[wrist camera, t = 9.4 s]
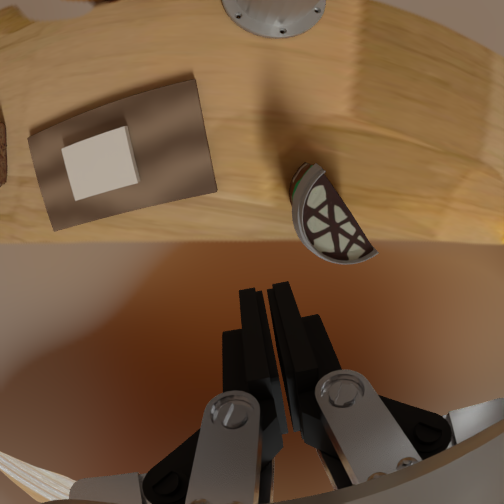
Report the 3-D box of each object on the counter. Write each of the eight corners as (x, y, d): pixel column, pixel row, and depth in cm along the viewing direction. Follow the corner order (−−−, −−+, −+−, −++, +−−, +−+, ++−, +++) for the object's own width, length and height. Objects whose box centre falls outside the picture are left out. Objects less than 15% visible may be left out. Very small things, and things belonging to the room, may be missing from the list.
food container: (259, 183, 38) (270, 206, 29) (298, 152, 36) (321, 166, 27) (314, 251, 42) (337, 289, 33) (349, 224, 41) (380, 256, 32)
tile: (128, 125, 32) (67, 147, 32) (124, 126, 30) (61, 148, 30) (141, 180, 35) (80, 197, 35) (137, 183, 34) (75, 201, 34)
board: (32, 137, 32) (27, 138, 30) (195, 80, 32) (194, 79, 30) (57, 228, 38) (54, 231, 36) (217, 189, 38) (217, 192, 36)
